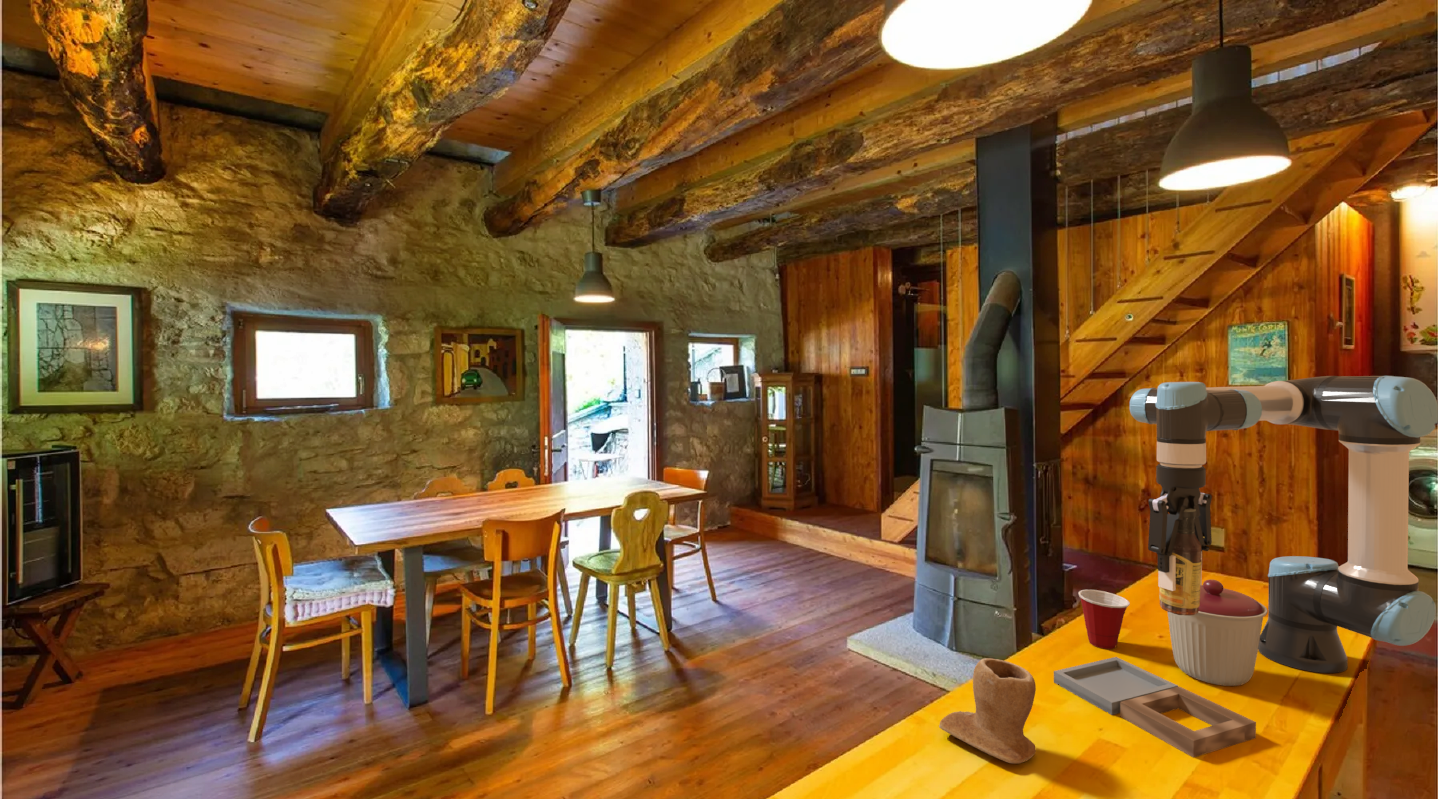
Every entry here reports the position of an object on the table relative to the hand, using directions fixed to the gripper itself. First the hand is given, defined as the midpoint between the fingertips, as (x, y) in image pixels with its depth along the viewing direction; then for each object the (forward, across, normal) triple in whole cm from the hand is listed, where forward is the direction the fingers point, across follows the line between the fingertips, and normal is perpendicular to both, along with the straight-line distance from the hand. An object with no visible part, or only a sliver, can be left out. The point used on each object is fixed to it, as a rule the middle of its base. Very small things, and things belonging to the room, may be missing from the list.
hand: (1180, 585), depth 121 cm
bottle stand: (+27, 0, +1) cm, 27 cm away
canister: (+27, -25, -10) cm, 38 cm away
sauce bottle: (+5, 0, 0) cm, 5 cm away
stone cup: (+27, +37, -8) cm, 47 cm away
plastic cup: (+27, -17, -30) cm, 44 cm away
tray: (+27, 0, -14) cm, 30 cm away
